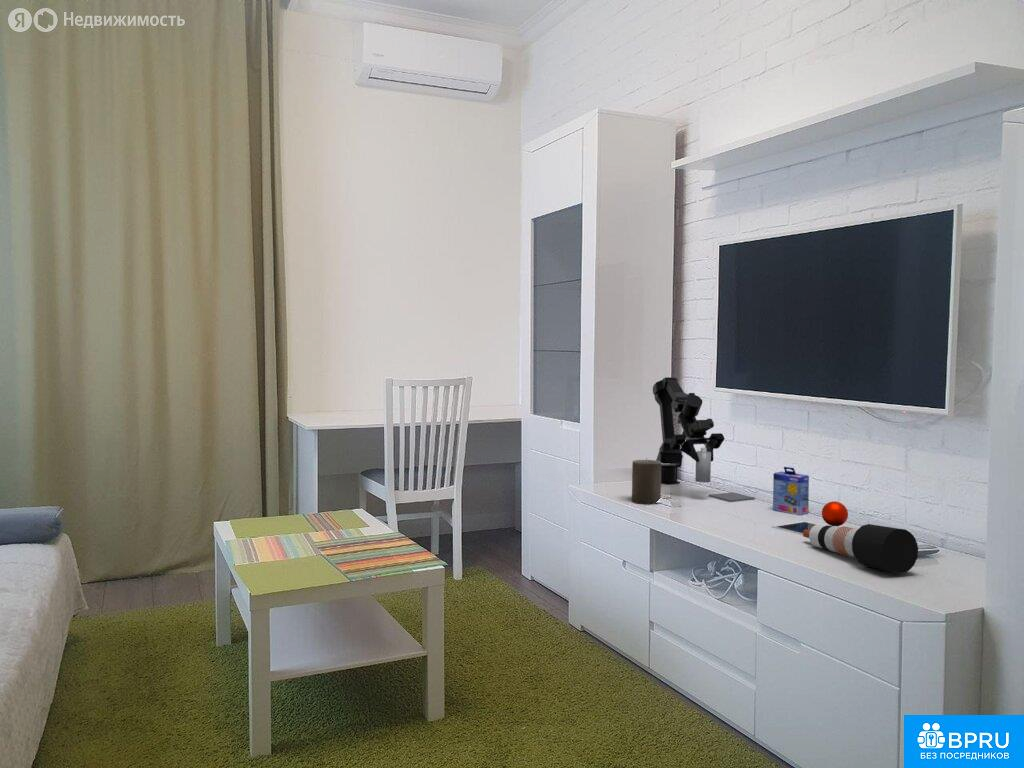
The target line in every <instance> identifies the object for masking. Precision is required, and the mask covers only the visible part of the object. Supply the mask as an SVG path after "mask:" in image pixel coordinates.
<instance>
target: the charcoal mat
mask: <svg viewBox="0 0 1024 768" xmlns="http://www.w3.org/2000/svg"><path fill="white" fill-rule="evenodd" d="M708 497H710V498H713V499H717V500H721V501H724V502H728V503H733V502H742V501H752V500H756V498H755V497H754V496H749V495H745V494H743V493H742V494H741V493H737V492H733V491H731V492H723V493H711V494H708Z"/></svg>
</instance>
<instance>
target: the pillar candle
mask: <svg viewBox="0 0 1024 768" xmlns="http://www.w3.org/2000/svg"><path fill="white" fill-rule="evenodd" d="M661 464H662V463H661V462H660V461H656V460H654V459H653V460H652V459H648V458H647V457H646V458H645V459H635V460H632V465H631V466H632V467H631V468H632V469H631V470H632V472H631V477H632V478H631V482H632V483H631V501H632V503H635V504H640V505H643V504H644V505H655V504H654V503H656V502H657V501H658V500H659V499H660V498H662V496H661V495H662V483H661Z"/></svg>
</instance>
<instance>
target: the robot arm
mask: <svg viewBox="0 0 1024 768" xmlns="http://www.w3.org/2000/svg"><path fill="white" fill-rule="evenodd" d="M652 394H653V395H654V401H655V402H656V403H657V404H658V406H659V413H660V424H661V425H660V426H661V437H662V443H661V444H660V447H659V449H658V450H659V451H658V454H657V456H656V461H660V462H661V484H664V483H665V484H664V485H672V484H675V485H676V484H680V483H681V482H680V481H679V480H678V468H681V467H682V465H683V464H682V463H683V457H684V455H683V453H684V454H686V455H687V456H689V457H690V458H692V459H693V461H695V463H696V462H699V457H698V455H697V452H696V451H697V450H696V448H695V446H694V445H703V446H704V447H705V448H706V451H708V452H711V463H712V462H713V461H714V450H717V449H719V448H721V445H722V444H723V442H724V441H725V439H726V438H725V436H724V435H723V433H720V432H719V433H718V432H717V433H716V432H715V433H713V432H712V433H711V434H710V435H709V437H706V436H707V431H708V430H711V429H713V428H714V426H715V423H714V420H713V419H712V418H707V419H697V416H698V415H699V413H700V410H701V408H702V405H703V399H702V398H701V397H700V396H698V395H696V394H695V392H689V393H686V392H684V389H683V388H682V387H681V385H680V384H679V381H678V378H677V377H674V376H673V377H670V376H669V377H666V376H665V377H663V379H661V380H659V381H657V382H655V383H654V384H653V386H652ZM673 411H674V412H675V413H679V414H678V416H677V419H678V420H677V424H680V426H681V428H682V430H683V431H682V432H681V433H679V434H676V433H675V426H674V418H673Z"/></svg>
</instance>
